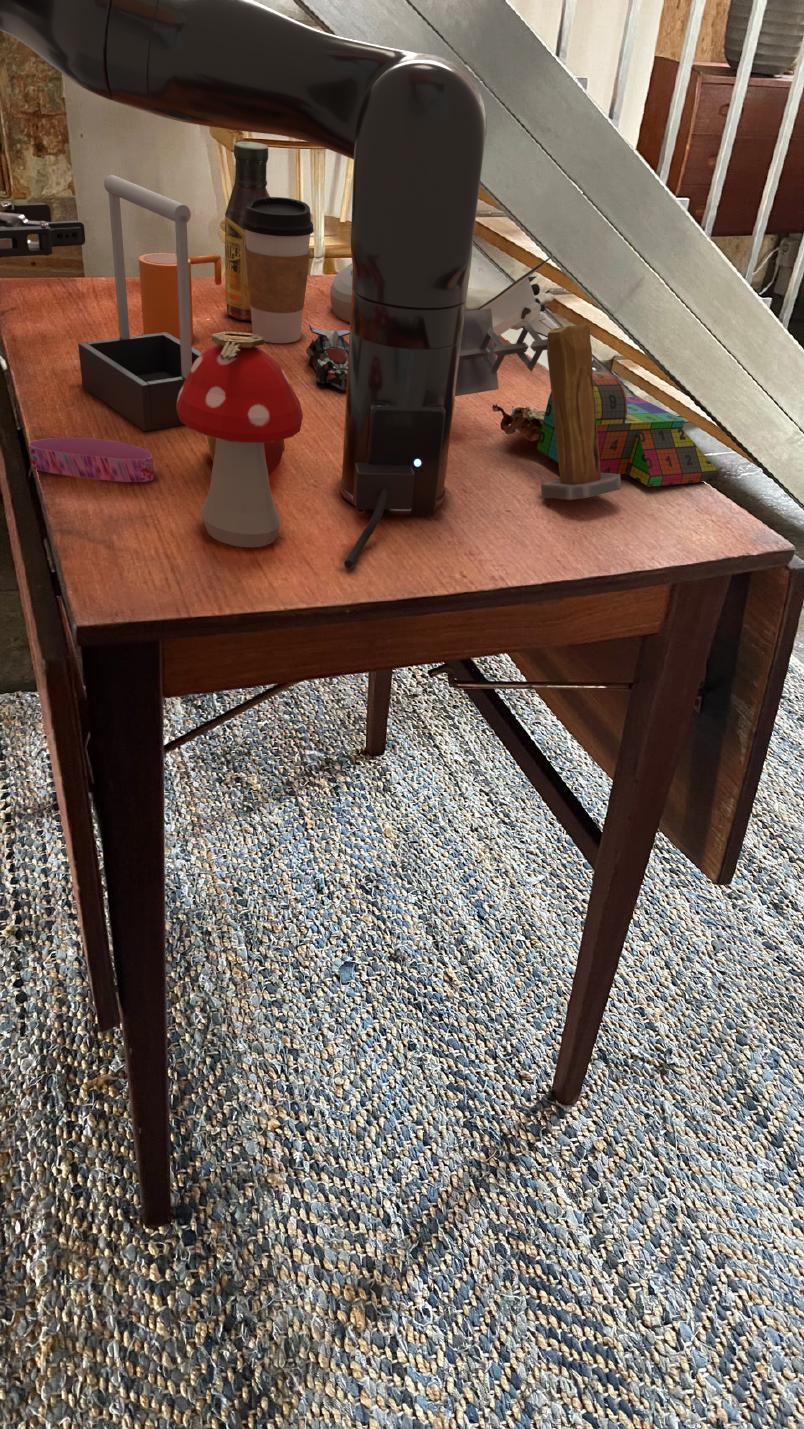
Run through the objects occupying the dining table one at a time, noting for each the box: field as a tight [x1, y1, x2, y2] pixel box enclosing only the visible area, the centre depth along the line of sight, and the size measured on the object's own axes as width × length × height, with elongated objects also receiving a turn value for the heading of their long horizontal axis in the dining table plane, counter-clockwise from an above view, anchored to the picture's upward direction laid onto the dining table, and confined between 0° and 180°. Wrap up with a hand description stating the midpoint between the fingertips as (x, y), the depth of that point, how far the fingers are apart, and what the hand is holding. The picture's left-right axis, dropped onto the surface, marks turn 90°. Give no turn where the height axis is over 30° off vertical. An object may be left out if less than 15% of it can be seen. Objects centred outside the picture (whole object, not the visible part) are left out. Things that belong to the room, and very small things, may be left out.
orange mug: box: [138, 252, 222, 344], centre depth 121 cm, size 10×6×9 cm, turn 129°
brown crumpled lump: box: [491, 403, 546, 442], centre depth 104 cm, size 7×12×6 cm, turn 156°
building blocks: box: [536, 371, 720, 487], centre depth 98 cm, size 15×10×8 cm
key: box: [210, 330, 265, 360], centre depth 72 cm, size 4×8×1 cm, turn 2°
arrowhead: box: [465, 287, 555, 311], centre depth 143 cm, size 12×4×25 cm
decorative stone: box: [329, 262, 353, 323], centre depth 136 cm, size 18×18×5 cm
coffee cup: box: [242, 196, 315, 344], centre depth 122 cm, size 8×8×15 cm
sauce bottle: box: [224, 141, 271, 322], centre depth 127 cm, size 7×6×20 cm
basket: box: [77, 174, 203, 432], centre depth 100 cm, size 14×10×20 cm
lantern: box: [455, 308, 622, 501], centre depth 100 cm, size 8×17×30 cm
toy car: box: [305, 323, 350, 391], centre depth 115 cm, size 6×12×4 cm, turn 11°
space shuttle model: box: [476, 254, 558, 339], centre depth 128 cm, size 16×25×10 cm
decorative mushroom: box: [176, 344, 304, 548], centre depth 78 cm, size 10×9×15 cm
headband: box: [28, 437, 155, 483], centre depth 90 cm, size 11×4×2 cm, turn 85°
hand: (65, 223), depth 108 cm, fingers open, 8 cm apart
